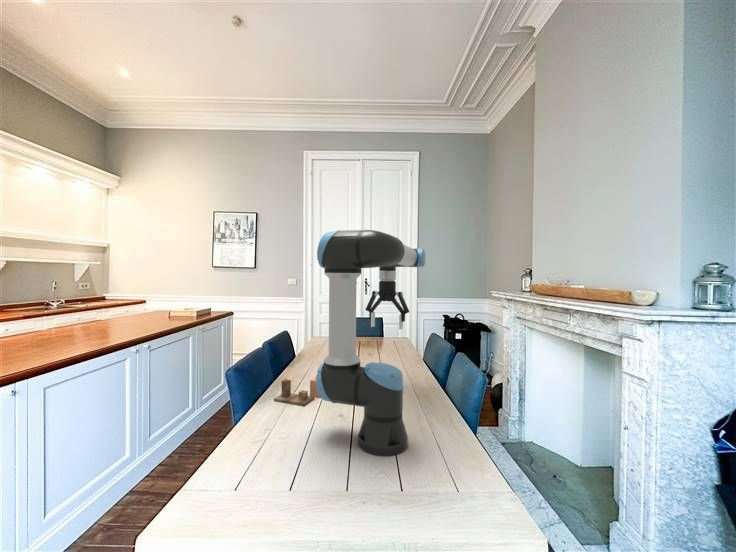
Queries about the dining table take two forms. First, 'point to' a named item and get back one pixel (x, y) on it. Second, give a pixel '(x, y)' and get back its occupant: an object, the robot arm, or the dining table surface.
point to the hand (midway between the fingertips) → (386, 327)
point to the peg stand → (293, 395)
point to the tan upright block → (313, 388)
